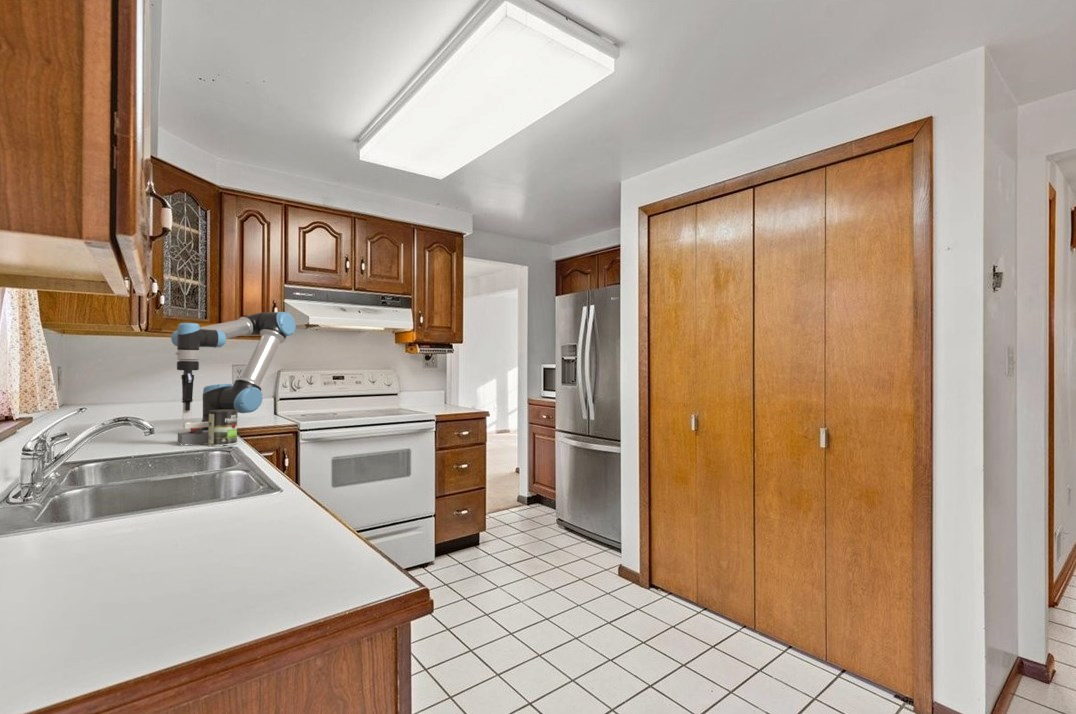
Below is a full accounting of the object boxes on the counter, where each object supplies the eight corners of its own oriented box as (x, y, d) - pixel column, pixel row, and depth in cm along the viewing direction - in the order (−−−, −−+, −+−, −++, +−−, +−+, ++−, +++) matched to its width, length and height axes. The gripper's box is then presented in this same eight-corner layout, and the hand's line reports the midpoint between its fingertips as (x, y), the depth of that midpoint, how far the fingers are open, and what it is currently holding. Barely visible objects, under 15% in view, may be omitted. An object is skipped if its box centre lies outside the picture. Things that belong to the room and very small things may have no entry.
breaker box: (177, 441, 220) (177, 427, 220) (210, 439, 228) (211, 425, 228) (182, 445, 210) (182, 430, 210) (216, 442, 218) (216, 428, 218)
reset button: (189, 432, 222) (189, 423, 222) (200, 432, 224) (200, 423, 224) (191, 433, 219) (191, 424, 219) (202, 433, 221) (202, 423, 221)
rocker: (183, 427, 215) (183, 422, 215) (211, 425, 222) (211, 420, 222) (184, 428, 212) (184, 423, 212) (213, 426, 219) (213, 421, 219)
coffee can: (243, 443, 218) (243, 409, 218) (223, 447, 208) (224, 411, 208) (222, 442, 220) (222, 408, 221) (201, 446, 210) (202, 410, 210)
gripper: (174, 360, 217) (173, 417, 217) (179, 360, 207) (178, 420, 207) (196, 360, 222) (195, 416, 222) (201, 360, 212) (200, 419, 212)
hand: (186, 418), depth 214 cm, fingers closed
